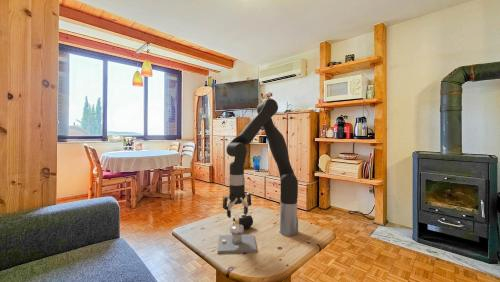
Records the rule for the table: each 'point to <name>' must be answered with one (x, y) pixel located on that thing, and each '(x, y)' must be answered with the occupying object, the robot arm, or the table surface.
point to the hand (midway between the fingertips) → (237, 215)
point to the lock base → (242, 246)
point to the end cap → (245, 221)
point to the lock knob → (236, 227)
